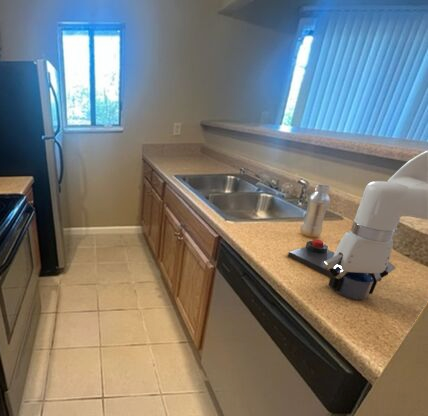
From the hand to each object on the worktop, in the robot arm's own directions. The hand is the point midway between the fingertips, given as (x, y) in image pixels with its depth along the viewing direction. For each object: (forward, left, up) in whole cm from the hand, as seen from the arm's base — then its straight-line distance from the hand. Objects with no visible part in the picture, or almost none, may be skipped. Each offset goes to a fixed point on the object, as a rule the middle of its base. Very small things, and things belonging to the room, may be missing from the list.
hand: (349, 289), depth 75 cm
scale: (+11, -9, -1) cm, 14 cm away
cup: (0, 0, -1) cm, 1 cm away
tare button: (+17, -13, +2) cm, 21 cm away
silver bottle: (+26, -25, -1) cm, 36 cm away
